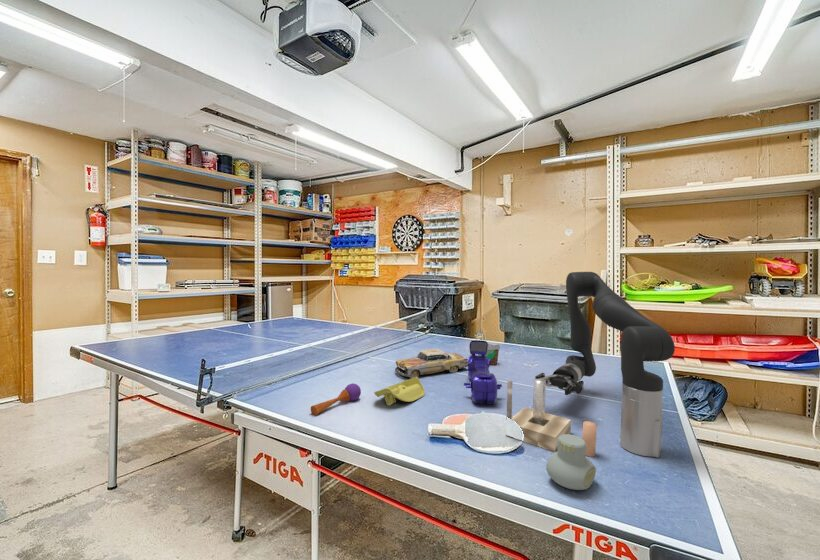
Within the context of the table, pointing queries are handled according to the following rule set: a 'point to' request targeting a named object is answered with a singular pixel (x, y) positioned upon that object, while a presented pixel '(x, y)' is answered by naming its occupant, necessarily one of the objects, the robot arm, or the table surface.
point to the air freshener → (571, 464)
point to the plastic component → (403, 391)
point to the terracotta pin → (589, 437)
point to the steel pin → (539, 401)
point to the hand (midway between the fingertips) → (551, 388)
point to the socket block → (534, 432)
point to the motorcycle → (481, 374)
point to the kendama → (338, 398)
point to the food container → (492, 354)
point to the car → (430, 363)
